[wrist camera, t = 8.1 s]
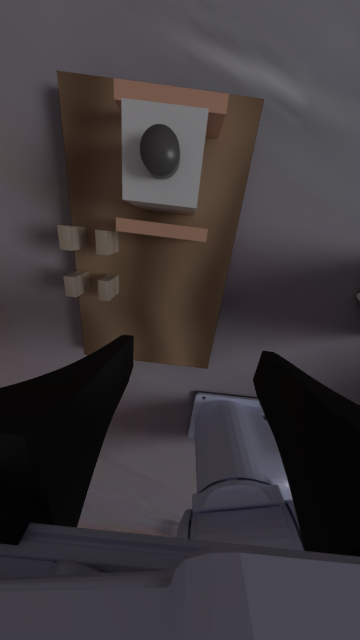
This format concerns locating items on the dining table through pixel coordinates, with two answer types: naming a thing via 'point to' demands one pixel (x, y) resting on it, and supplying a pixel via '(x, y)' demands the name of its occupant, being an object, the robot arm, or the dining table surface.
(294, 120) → the dining table surface
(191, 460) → the dining table surface
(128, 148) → the block
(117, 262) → the board
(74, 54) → the dining table surface
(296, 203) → the dining table surface
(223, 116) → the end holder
